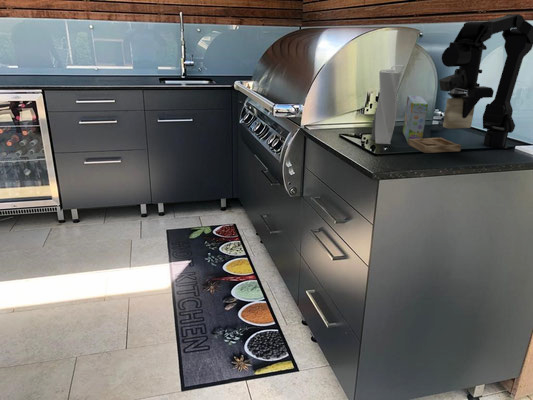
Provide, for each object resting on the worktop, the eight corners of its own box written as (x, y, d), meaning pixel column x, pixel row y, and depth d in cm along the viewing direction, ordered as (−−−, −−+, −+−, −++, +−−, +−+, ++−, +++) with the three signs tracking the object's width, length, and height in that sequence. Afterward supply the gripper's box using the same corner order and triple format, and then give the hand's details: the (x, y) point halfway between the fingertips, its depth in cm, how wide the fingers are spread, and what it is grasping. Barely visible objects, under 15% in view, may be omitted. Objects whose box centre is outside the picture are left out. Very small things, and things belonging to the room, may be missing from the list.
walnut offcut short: (424, 143, 151) (424, 140, 150) (433, 146, 146) (433, 143, 146) (417, 144, 150) (417, 140, 150) (426, 147, 146) (426, 144, 145)
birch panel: (442, 126, 139) (447, 98, 136) (465, 125, 141) (470, 97, 138) (448, 128, 137) (452, 99, 133) (470, 127, 138) (475, 98, 135)
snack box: (423, 145, 156) (428, 103, 150) (406, 145, 157) (412, 102, 151) (416, 133, 175) (421, 95, 170) (401, 132, 176) (406, 94, 171)
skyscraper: (393, 142, 161) (402, 63, 151) (395, 148, 153) (405, 65, 143) (370, 141, 162) (377, 63, 152) (371, 147, 155) (379, 65, 144)
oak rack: (440, 145, 156) (441, 137, 155) (459, 153, 146) (461, 145, 145) (407, 146, 154) (408, 139, 153) (424, 155, 144) (426, 146, 143)
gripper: (429, 63, 139) (422, 112, 145) (464, 68, 122) (455, 123, 128) (460, 63, 141) (452, 111, 147) (499, 68, 124) (489, 122, 130)
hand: (461, 117), depth 138 cm, fingers closed on birch panel, 3 cm apart
